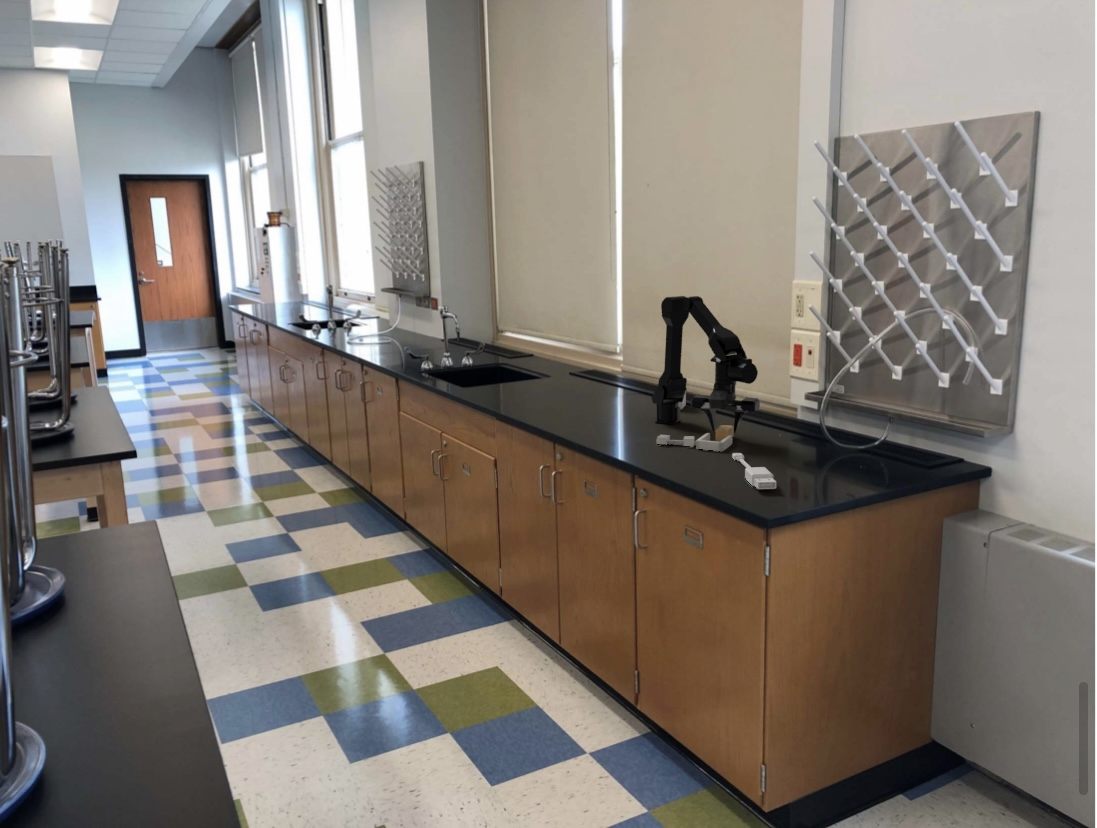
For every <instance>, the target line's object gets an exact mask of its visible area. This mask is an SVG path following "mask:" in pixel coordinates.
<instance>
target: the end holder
mask: <svg viewBox="0 0 1097 828" xmlns="http://www.w3.org/2000/svg"><path fill="white" fill-rule="evenodd" d="M695 441H696V445H695V450H698V449H703V450H702V451H708V450H713V451H712V452H719V451H720V452H721V453H722V452H724V451H726V449H728V448H729V447H730V446H732V445H733V438H732V435H728V436H727V437H726V438H724V439H723V440H722V441H716V440H711V433H710V432H706V433H704V434H703V435H702V436H700V437H699V438H697V439H696V440H695Z"/></svg>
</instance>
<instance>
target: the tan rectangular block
mask: <svg viewBox="0 0 1097 828" xmlns="http://www.w3.org/2000/svg"><path fill="white" fill-rule="evenodd" d="M728 435H732V437H733V438H734V425H730V424H729V425H727V424H726V425H725V424H721V425H719V426H718V427H717V428H716V429H715V441H717V442H720V441H722V440H723V439H724V438H726V437H727V436H728Z"/></svg>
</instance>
